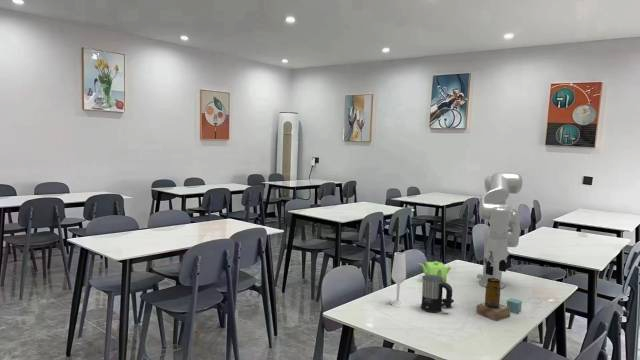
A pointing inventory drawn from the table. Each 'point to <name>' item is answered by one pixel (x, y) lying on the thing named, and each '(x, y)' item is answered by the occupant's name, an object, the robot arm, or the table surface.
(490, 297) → the condiment
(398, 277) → the champagne flute
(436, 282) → the milk frother
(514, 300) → the teal cube
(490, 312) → the block
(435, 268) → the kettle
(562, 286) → the table surface
